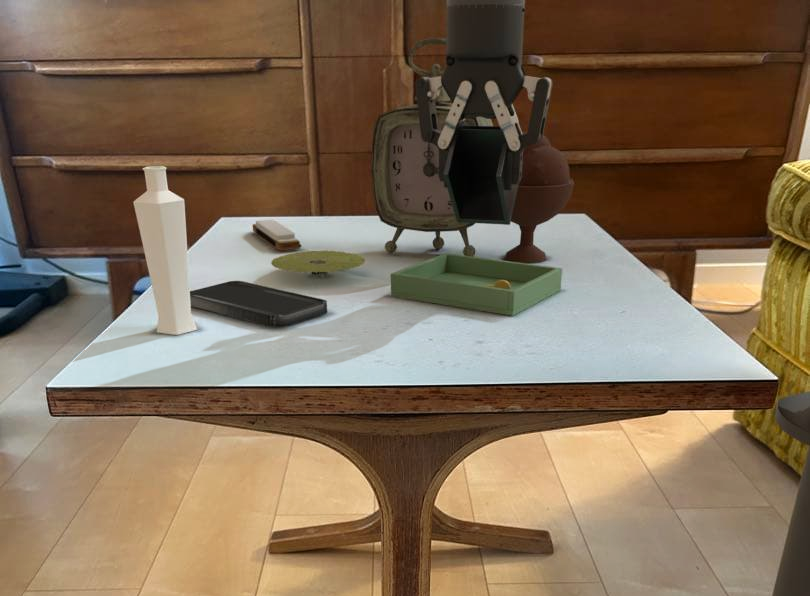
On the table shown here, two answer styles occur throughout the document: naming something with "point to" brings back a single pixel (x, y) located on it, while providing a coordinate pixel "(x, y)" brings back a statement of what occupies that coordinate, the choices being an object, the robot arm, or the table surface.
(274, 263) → the green round disc
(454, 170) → the holder
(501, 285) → the key
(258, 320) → the phone
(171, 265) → the perfume bottle
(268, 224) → the harmonica
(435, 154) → the tabletop clock
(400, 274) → the tray
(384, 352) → the table surface
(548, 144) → the ice cream bowl
